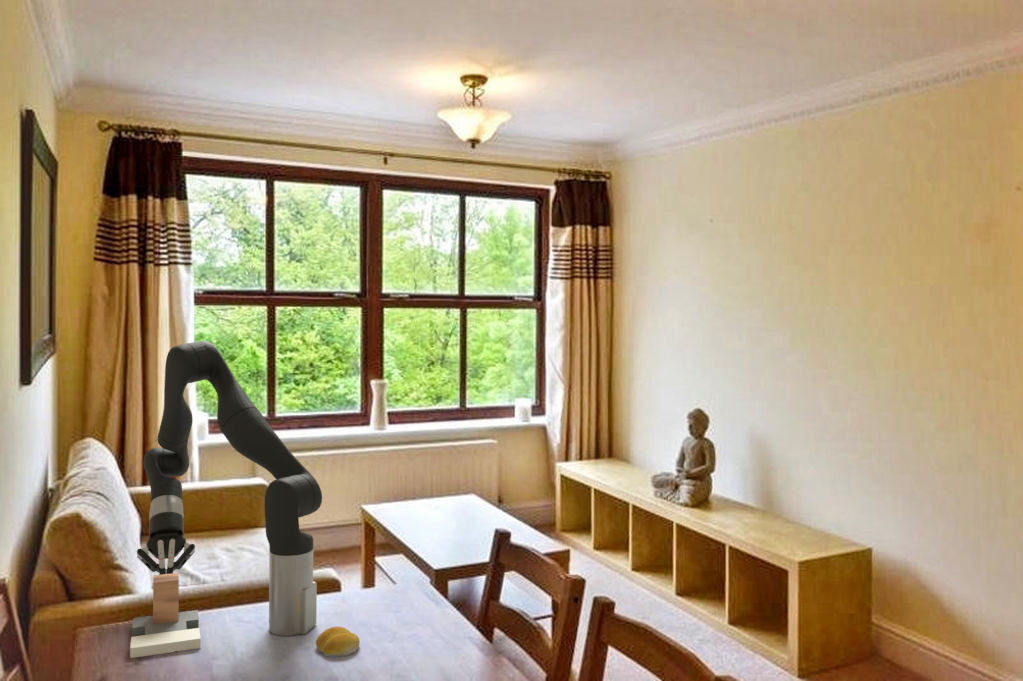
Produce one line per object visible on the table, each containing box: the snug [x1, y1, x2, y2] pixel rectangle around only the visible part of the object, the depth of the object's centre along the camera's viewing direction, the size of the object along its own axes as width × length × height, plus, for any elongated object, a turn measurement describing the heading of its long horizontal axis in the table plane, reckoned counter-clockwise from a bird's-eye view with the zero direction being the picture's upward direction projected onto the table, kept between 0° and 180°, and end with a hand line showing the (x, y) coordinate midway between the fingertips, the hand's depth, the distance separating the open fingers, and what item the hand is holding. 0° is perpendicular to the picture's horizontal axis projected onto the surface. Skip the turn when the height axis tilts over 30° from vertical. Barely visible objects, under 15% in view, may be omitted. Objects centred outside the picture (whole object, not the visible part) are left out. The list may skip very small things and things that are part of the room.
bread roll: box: [315, 626, 360, 657], centre depth 164 cm, size 8×9×4 cm
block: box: [152, 572, 180, 624], centre depth 173 cm, size 5×5×9 cm
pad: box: [129, 627, 202, 659], centre depth 163 cm, size 6×13×2 cm, turn 113°
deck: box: [131, 609, 200, 637], centre depth 171 cm, size 11×13×2 cm
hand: (166, 585), depth 180 cm, fingers closed
